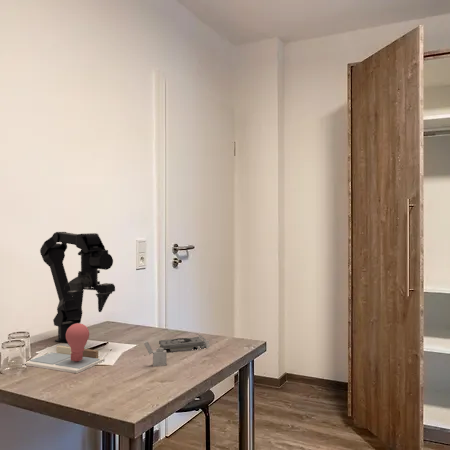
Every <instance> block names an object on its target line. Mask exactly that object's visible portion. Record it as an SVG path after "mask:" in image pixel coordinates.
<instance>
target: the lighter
mask: <svg viewBox="0 0 450 450" xmlns="http://www.w3.org/2000/svg"><path fill="white" fill-rule="evenodd" d="M143 345H144V347H145V349H146V350H147V351H146V352H147V353H148V354H149V355H152V366H153V367H160V366H161V367H162V366H167V351H166V350H165V349H164V348H162V347H156V349H155V350H153V349H152V346H151V345H150V342H149V341H148V340H147V339H146V340H144V341H143Z"/></svg>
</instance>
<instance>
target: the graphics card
mask: <svg viewBox="0 0 450 450" xmlns="http://www.w3.org/2000/svg"><path fill="white" fill-rule="evenodd" d="M158 345H159V346H160V347H159V348H164V350H166V352H167V351H168V350H169V351H170V352H178V351H179V352H180V351H181V352H182V351H187V352H192V351H201V350H200V348H201V349H204V348H210V347H211V346H210V340H209V339H206V338H205V337H204V336H203V335H202V334H200V333H198V336H193V337H180V338H178V337H177V338H172V339H171V338H169V339H160V340H159V341H158ZM196 348H197V349H198V350H197V349H196ZM192 349H193V350H192ZM195 349H196V350H195Z"/></svg>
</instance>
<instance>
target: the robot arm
mask: <svg viewBox="0 0 450 450" xmlns="http://www.w3.org/2000/svg"><path fill="white" fill-rule="evenodd" d="M68 244H69V245H74V246H75V247H76V248H78V249H80V250H79V251H78V253H77V255H78V256H80V271H79V270H78V272H77V276H75V277H74V278H73V279H71V280H68V275H67V273H66V270H65V266H64V259H65V256H66V254H65V252H66V251H67V249H68ZM39 253H40V255H41V258H42V260H43V263H45V264H46V265H47V266H48V267H49V268H50V271H51V276H52V278H53V282H54V285H55V290H56V293H57V297H58V300H59V301H58V304H57V307H56V312H57V313H56V314H55V316H54V318H53V319H52V320H53V326H55V327H57V328H58V329H57V335H58V336H57V339H55V342H57V343H59V342H60V343H66V344H68V342H67V340H66V331H67V329H68V328H69V327H70V326H71V325H73V324H76V323H80V324H81V321H82V317H83V310H82V309H83V301H84V292H85V290H87V291H88V290H89V291H96V293H95V296H96V297H97V309H98V313H101V312H102V311H103V309H104V307H105V304H106V302H107V300H108V299H109V297H110V295H112V294H113V293H114V292H116V286H115V284H114V283H107V282H105V283H101V281H98V278H99V276H98V274H100V273H101V270H105V271H106V270H110V269H111V267H113V264H114V258H113V256H112V255H111V254H110V253H109V250H108V249H106V247H105V245H104V244H103V241H102V239H101V237H100V236H99V233H97V232H96V233H95V232H94V233H93V232H92V233H72V232H66V231H56V232H54V233H53V234H52V235H51V237H49V238H48V239H46V240H45V241H44V242H43V244H42V245H41V247H40V249H39Z"/></svg>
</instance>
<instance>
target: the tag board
mask: <svg viewBox="0 0 450 450" xmlns="http://www.w3.org/2000/svg"><path fill="white" fill-rule="evenodd" d="M71 353H72V352H71V348H70V346H65V345H56V351H51V352H50V353H46V354H44V355H41V356H40V355H39V356H38V357H34V358H32V359H29V360H28V361H25V362H26V365H25V366H30V367H35V368H40V369H46V370H47V369H48V370H54V371H59V372H60V371H61V372H64V373H65V372H66V373H73V374H79V373H81V372H83V371H86V370H89V369H90V368H92V367H94V366H97V365H98V363H99V364H101V363H103V362H105V358H103V357H99V350H97V349H96V350H95V349H90V348H89V349H88V348H84V351H83V359H82V360H80V361H78V362H76V361H72V360H71ZM102 361H103V362H102ZM100 362H101V363H100ZM96 364H97V365H96Z"/></svg>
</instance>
